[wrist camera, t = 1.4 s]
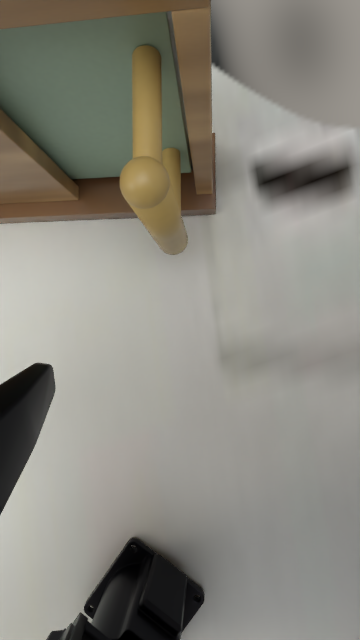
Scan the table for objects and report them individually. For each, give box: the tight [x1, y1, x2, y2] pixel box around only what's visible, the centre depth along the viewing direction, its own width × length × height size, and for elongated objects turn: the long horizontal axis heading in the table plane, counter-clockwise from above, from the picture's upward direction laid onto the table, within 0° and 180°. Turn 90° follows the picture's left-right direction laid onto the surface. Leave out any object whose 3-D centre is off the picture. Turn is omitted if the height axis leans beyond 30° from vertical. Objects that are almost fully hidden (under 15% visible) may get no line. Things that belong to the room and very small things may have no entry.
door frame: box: [0, 0, 216, 223], centre depth 17 cm, size 5×19×16 cm, turn 91°
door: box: [0, 11, 191, 255], centre depth 16 cm, size 7×9×12 cm
